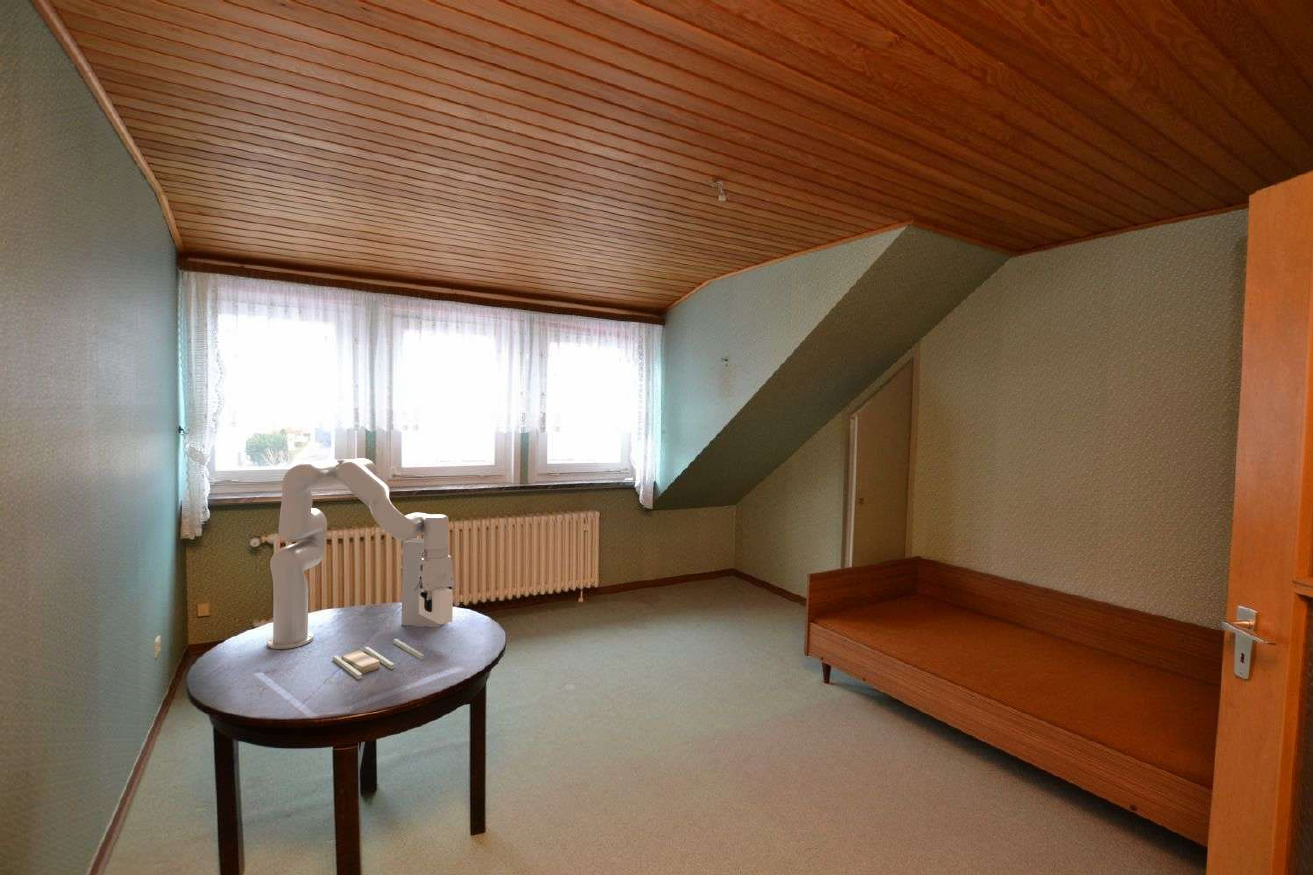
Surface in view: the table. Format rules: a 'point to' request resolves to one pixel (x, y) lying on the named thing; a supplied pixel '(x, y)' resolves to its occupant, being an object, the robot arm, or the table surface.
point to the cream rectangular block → (438, 606)
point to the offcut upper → (361, 661)
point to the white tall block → (412, 585)
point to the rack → (378, 657)
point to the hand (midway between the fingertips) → (435, 608)
